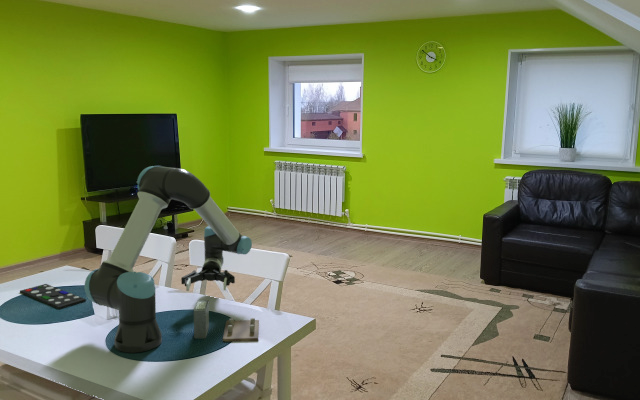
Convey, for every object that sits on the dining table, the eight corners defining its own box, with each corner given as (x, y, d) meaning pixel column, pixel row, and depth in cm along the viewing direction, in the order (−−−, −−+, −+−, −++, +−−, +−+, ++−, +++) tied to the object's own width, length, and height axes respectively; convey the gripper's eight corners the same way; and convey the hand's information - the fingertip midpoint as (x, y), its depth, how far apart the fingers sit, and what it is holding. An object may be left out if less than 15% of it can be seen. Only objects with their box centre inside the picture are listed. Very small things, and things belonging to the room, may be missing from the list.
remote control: (46, 287, 241) (45, 282, 240) (86, 302, 223) (85, 297, 223) (20, 293, 232) (19, 289, 231) (59, 310, 214) (59, 305, 214)
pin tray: (222, 341, 189) (222, 331, 188) (226, 323, 204) (226, 314, 204) (258, 340, 190) (258, 331, 189) (258, 322, 206) (258, 313, 205)
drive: (194, 338, 191) (193, 310, 189) (197, 326, 200) (197, 300, 199) (205, 338, 191) (205, 310, 189) (208, 326, 201) (208, 300, 199)
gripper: (242, 277, 228) (240, 296, 207) (180, 278, 226) (172, 297, 205) (242, 260, 227) (239, 276, 206) (180, 261, 224) (171, 278, 204)
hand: (206, 287), depth 206 cm, fingers open, 13 cm apart
